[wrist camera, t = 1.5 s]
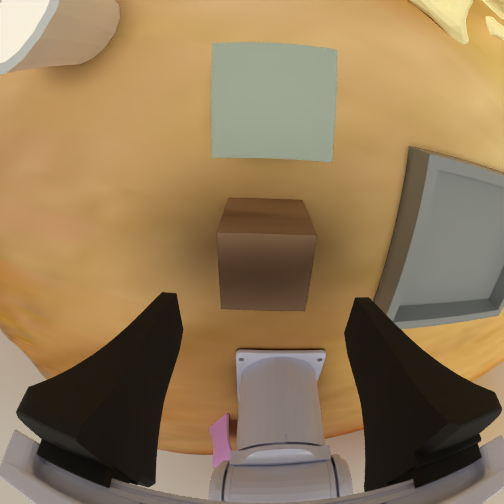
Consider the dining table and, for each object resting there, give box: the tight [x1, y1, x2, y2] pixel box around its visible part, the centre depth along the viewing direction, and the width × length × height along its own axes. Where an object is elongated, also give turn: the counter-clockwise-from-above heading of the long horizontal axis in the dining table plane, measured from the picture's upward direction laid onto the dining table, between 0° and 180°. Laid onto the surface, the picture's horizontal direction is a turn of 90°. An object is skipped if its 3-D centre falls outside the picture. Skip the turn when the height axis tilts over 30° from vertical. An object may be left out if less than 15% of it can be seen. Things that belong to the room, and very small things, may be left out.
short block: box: [217, 198, 317, 311], centre depth 16 cm, size 4×4×5 cm
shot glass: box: [0, 0, 120, 74], centre depth 8 cm, size 7×7×7 cm
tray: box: [374, 146, 504, 329], centre depth 16 cm, size 13×15×2 cm
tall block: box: [211, 42, 337, 162], centre depth 11 cm, size 4×4×7 cm
